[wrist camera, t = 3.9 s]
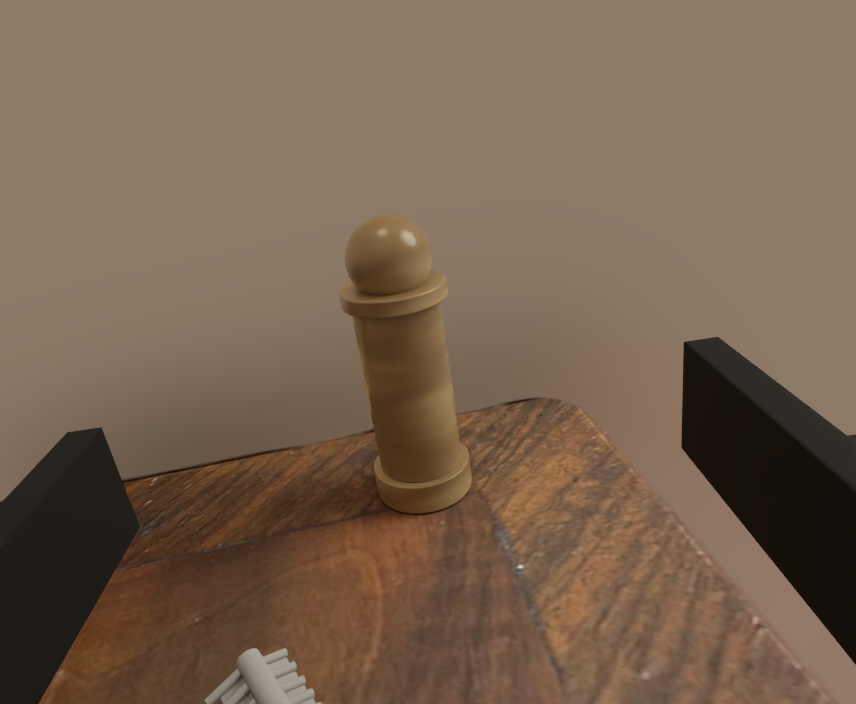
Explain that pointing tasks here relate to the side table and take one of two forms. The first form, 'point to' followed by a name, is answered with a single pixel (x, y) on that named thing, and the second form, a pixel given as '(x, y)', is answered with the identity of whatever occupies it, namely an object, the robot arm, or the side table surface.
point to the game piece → (405, 365)
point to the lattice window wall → (263, 681)
